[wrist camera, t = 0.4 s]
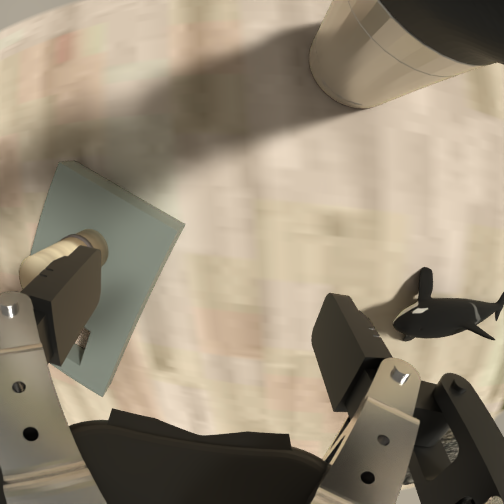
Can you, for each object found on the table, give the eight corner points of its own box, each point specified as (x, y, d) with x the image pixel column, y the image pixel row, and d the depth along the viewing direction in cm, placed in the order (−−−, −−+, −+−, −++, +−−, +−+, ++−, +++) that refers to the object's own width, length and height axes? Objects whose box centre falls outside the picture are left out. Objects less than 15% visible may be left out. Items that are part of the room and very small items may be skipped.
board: (74, 160, 29) (59, 161, 26) (185, 224, 30) (177, 231, 28) (28, 327, 35) (16, 337, 32) (110, 383, 36) (102, 397, 34)
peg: (81, 219, 27) (23, 243, 19) (115, 241, 28) (65, 274, 19) (68, 256, 28) (14, 289, 20) (101, 277, 29) (53, 319, 20)
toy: (365, 349, 33) (416, 404, 23) (384, 264, 30) (453, 306, 21) (477, 324, 37) (523, 356, 28) (495, 261, 35) (548, 286, 25)
